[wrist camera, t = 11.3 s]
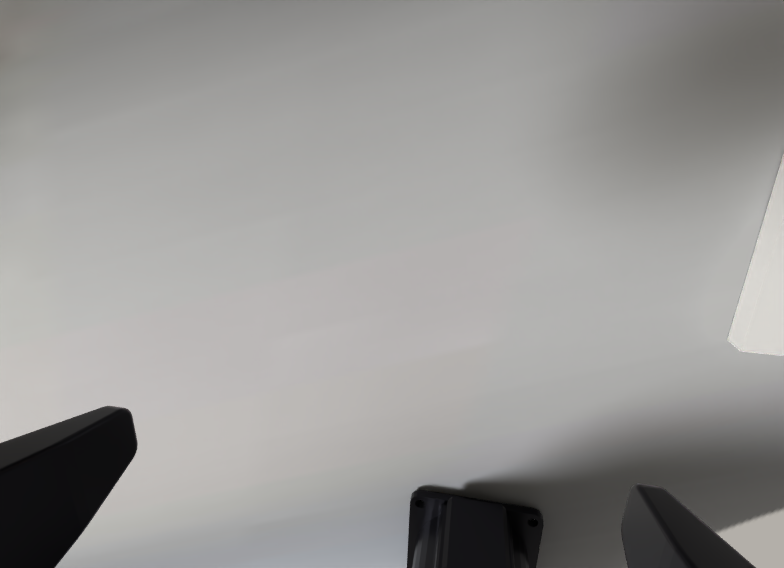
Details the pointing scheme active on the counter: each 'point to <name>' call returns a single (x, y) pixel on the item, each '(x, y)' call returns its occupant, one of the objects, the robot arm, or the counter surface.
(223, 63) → the counter surface
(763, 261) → the socket board
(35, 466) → the robot arm
